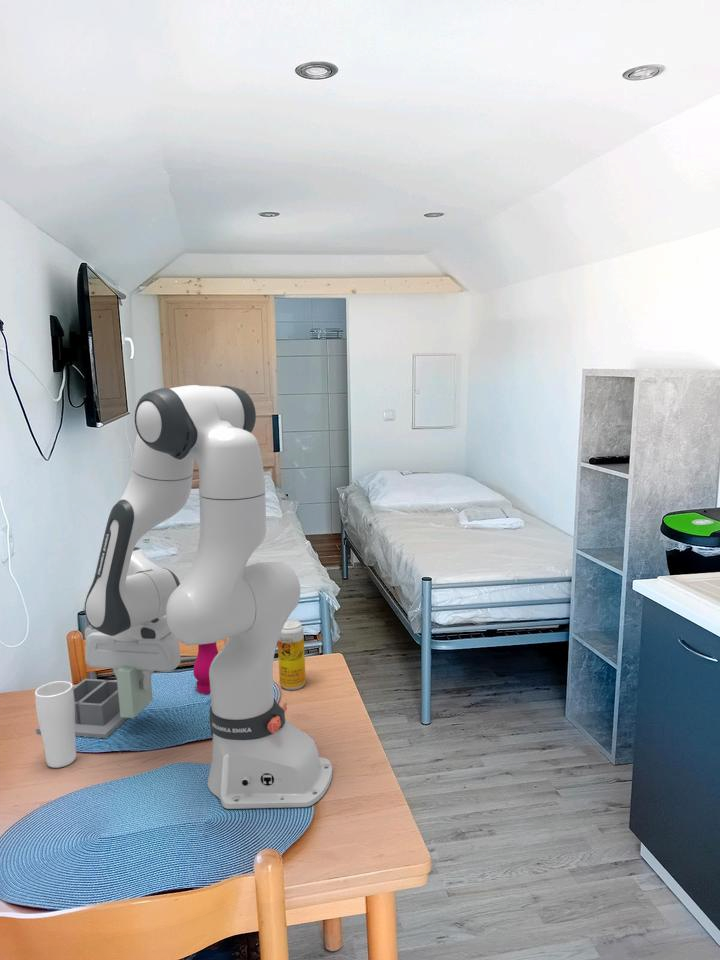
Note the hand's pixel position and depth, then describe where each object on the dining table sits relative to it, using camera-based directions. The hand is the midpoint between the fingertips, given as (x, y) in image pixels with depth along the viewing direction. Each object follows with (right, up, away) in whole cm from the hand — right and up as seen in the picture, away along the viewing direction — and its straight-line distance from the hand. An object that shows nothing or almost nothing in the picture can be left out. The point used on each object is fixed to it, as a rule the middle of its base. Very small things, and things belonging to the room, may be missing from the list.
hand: (135, 687), depth 148 cm
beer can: (+31, -5, +18) cm, 37 cm away
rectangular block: (0, -5, +1) cm, 5 cm away
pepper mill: (+12, -6, +18) cm, 22 cm away
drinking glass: (-11, -11, -12) cm, 19 cm away
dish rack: (-11, -8, +7) cm, 15 cm away
